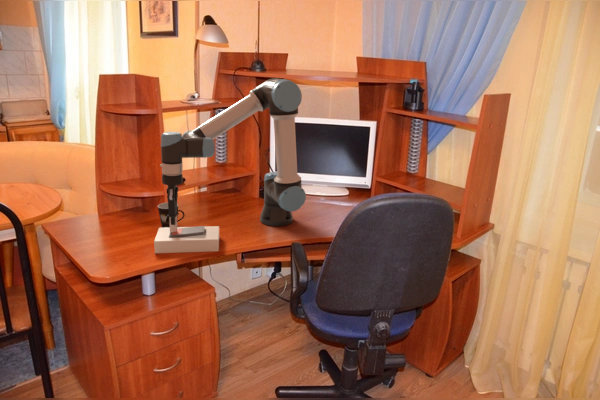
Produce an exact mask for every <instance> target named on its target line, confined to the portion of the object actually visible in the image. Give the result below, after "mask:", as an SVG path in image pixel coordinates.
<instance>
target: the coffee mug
mask: <svg viewBox="0 0 600 400" xmlns="http://www.w3.org/2000/svg"><path fill="white" fill-rule="evenodd" d="M177 209H178V210H177V213H179V212H180V213H182V217H181V218H180V219H178V217H179V215H177V223H178V222H180V221H182V220H183V219H184V218H185V216H186V214H185V212H184V211H183V210H181V209H179V204H178V203H177ZM157 211H158V215H159V220H160V224H161V228H165V227H170V222H169V217H167V215H169V212H168V202H162V203H159V204H158V205H157Z"/></svg>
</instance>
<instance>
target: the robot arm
mask: <svg viewBox="0 0 600 400" xmlns="http://www.w3.org/2000/svg"><path fill="white" fill-rule="evenodd" d="M302 95H303V94H302V90H301V88H300V87H299V85H298V84H297V83H295V82H293V81H292V80H290V79H285V78H280V77H278V78H277V77H273V78H269V79H267V80H265V81H264V82H263V81H262V83H260V84H259V85H256V87H254V88H253V89H251V90H250V91H249V92H248V95H246V96H245V97H244V98H242V99H240V100H239V101H236V103H234V104H232V105H231V106H229V107H228V108H226V109H224V110H222V111H221V112H219V113H218V114H217V115H215V116H213V117H211V118H210V119H208V120H206V121H205V122H204V123H202V124H201V125H199V126H197V127H196V128H194V129H193V130H187V131H185V132H184V133H183V134H182V133H181V132H180V131H179V132H178V131H165V132H163V133H162V134H161V137H160V151H161V152H160V153H161V154H160V155H161V158H160V159H161V164H159V167H160V168H161V173H162V174H161V182H162V184H163V185H166V186H167V189H166V195H167V196H166V198H167V203H168V212H169V215H167V217H169V222H170V232H177V227H178V222H177V221H178V218H177V215H178V216H179V215H180V213H179V212H178V213H177V210H179V208H178V209H177V204H178V196H179V186H180V185H182V184H183V182H184V180H183V178H184V177H183V167H184V166H183V159H184V158H185V159H186V158H188V159H189V158H191V159H192V158H195V159H197V158H198V159H199V158H202V159H203V158H204V159H205V158H212V157H213V156H214V155H215V151H216V150H215V148H216V147H215V141H214V140H215V139H216V138H217V137H219V136H221V135H223V134H225V133H226V132H227V131H229V130H230V129H232V128H234V127H236V126H237V125H238V124H240V123H241V122H243V121H245V120H247V118H250V117H251V116H253V115H254V114H256V113H257V112H264V111H266V109H268V110H269V112H268V113H269V116H270V118H271V117H272V119H273V129H274V144H275V145H274V146H275V160H276V162H275V163H276V164H275V165H276V171H272V172H267V173H265V174H264V177H263V178H264V179H263V184H264V188H263V189H264V190H263V191H264V192H263V196H264V197H263V207H262V209H261V212H260V213H261V214H260V217H259V218H260V219H259V220H260V223H262V224H263V225H266V226H269V227H270V226H271V227H284V226H288V225H291V224H292V223H293V220H294V219H293V218H294V216H293V212H296V211H298V210H299V209H301V207H303V206H304V204H305V202H306V198H307V194H306V193H307V192H305V189H304V188H303V185H302V177H301V176H300V175H299V174H298V162H297V161H298V160H297V141H296V140H297V138H296V116H298V115H299V106H300V105H301V103H302V99H303V98H302V97H303V96H302Z"/></svg>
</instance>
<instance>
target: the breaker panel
mask: <svg viewBox="0 0 600 400" xmlns="http://www.w3.org/2000/svg"><path fill="white" fill-rule="evenodd" d="M203 226H204V228H205V229H204V235H196V236H188V237H179V238H171V236H170V235H171V232H170V227H165V228H162V227H158V229H157V233H156V236H155V238H154V241H153V245H154V247H153V249H154V254H172V253H173V254H174V253H175V254H177V253H204V252H219V251H220V226H218V225H217V226H215V225H213V226H211V225H210V226H209V225H207V226H206V225H203ZM188 227H189V226H177V229H180V228H188Z"/></svg>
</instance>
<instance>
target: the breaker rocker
mask: <svg viewBox="0 0 600 400" xmlns="http://www.w3.org/2000/svg"><path fill="white" fill-rule="evenodd" d="M204 226H205V225H199V226H198V225H197V226H187V227H188V228H180V229H177V232H171V235H170V236H171V238H179V237H188V236H196V235H204V229H205V228H204Z"/></svg>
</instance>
